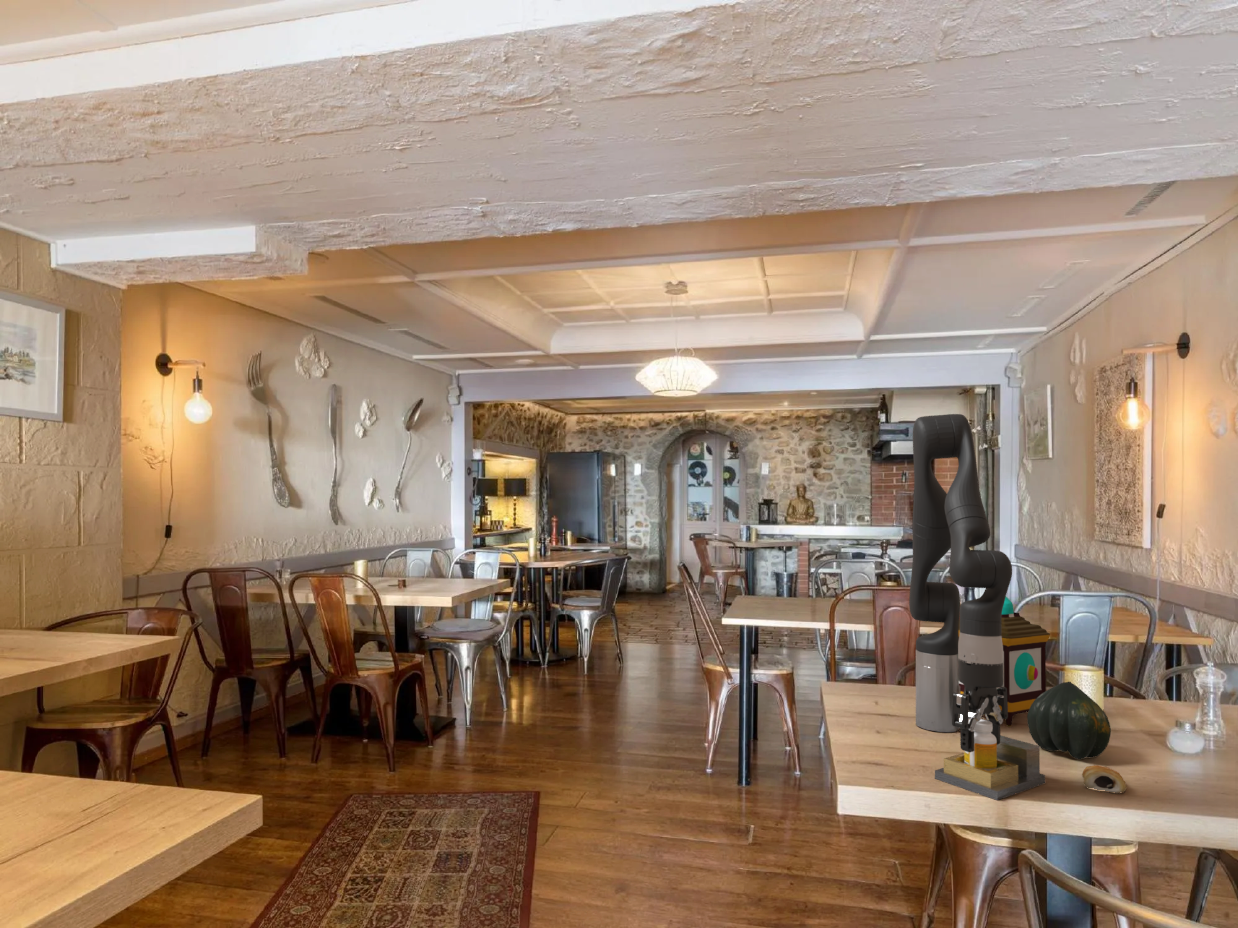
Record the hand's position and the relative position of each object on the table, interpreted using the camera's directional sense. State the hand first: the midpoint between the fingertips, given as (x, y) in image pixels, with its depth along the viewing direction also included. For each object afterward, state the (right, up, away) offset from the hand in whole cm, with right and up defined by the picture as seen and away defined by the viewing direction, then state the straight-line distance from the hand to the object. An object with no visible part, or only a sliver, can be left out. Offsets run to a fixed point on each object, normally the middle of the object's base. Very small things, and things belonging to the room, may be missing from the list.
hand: (980, 747), depth 138 cm
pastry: (+23, -8, 0) cm, 24 cm away
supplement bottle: (0, -5, 0) cm, 5 cm away
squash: (+28, -9, +19) cm, 35 cm away
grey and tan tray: (+2, -7, +1) cm, 7 cm away
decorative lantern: (+28, -10, +48) cm, 56 cm away
